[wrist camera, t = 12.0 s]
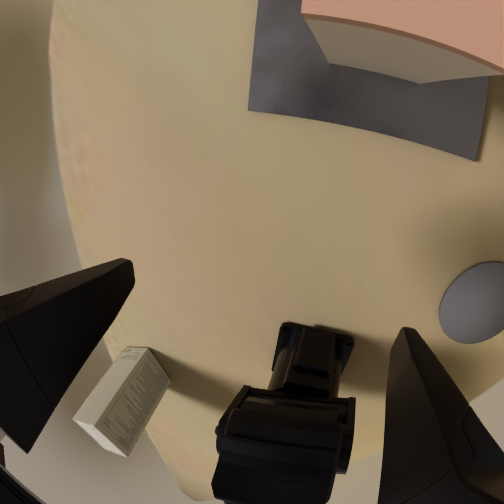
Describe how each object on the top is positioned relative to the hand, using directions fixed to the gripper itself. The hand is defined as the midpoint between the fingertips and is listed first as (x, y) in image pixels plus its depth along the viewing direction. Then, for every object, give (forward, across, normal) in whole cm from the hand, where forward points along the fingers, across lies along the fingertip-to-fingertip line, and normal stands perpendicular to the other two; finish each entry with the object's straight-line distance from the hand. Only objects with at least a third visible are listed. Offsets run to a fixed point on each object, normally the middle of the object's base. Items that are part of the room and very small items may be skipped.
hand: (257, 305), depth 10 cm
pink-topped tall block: (+12, -3, -11) cm, 17 cm away
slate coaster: (+13, -16, +6) cm, 21 cm away
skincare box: (+13, +15, +25) cm, 32 cm away
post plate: (+13, -3, -11) cm, 17 cm away
